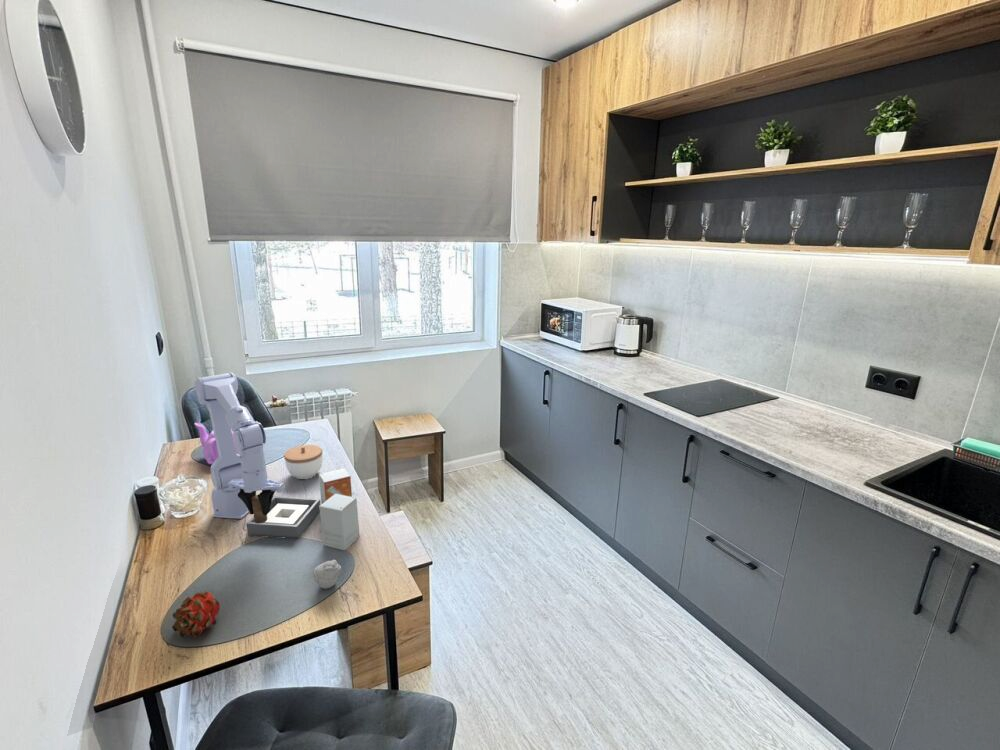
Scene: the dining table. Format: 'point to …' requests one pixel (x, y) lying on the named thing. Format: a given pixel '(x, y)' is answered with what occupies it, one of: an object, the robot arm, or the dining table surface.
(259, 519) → the peg
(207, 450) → the teapot
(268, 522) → the square hole block
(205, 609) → the dragon fruit
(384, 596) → the dining table surface
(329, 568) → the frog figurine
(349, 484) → the small box
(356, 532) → the supplement box
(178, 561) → the dining table surface
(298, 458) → the lidded bowl
